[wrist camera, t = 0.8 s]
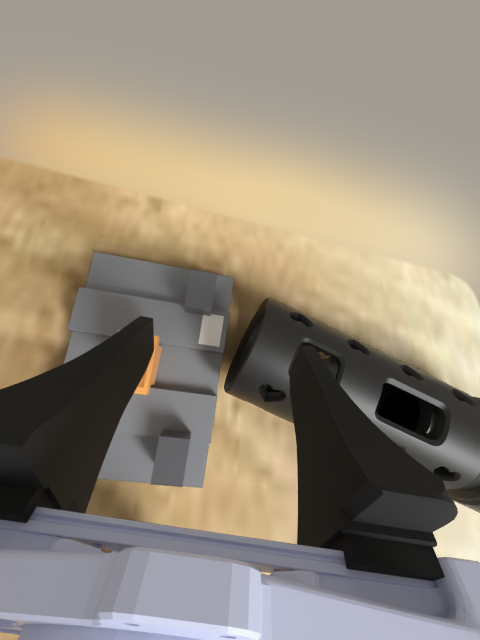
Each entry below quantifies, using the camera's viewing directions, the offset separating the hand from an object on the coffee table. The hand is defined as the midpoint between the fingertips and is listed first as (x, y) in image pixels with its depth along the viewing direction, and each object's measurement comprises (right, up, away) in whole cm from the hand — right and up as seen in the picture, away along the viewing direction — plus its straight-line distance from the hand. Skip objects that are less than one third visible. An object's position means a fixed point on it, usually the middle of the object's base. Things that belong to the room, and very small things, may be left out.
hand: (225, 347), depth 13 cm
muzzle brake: (+13, -8, +17) cm, 22 cm away
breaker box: (-8, -3, +14) cm, 16 cm away
